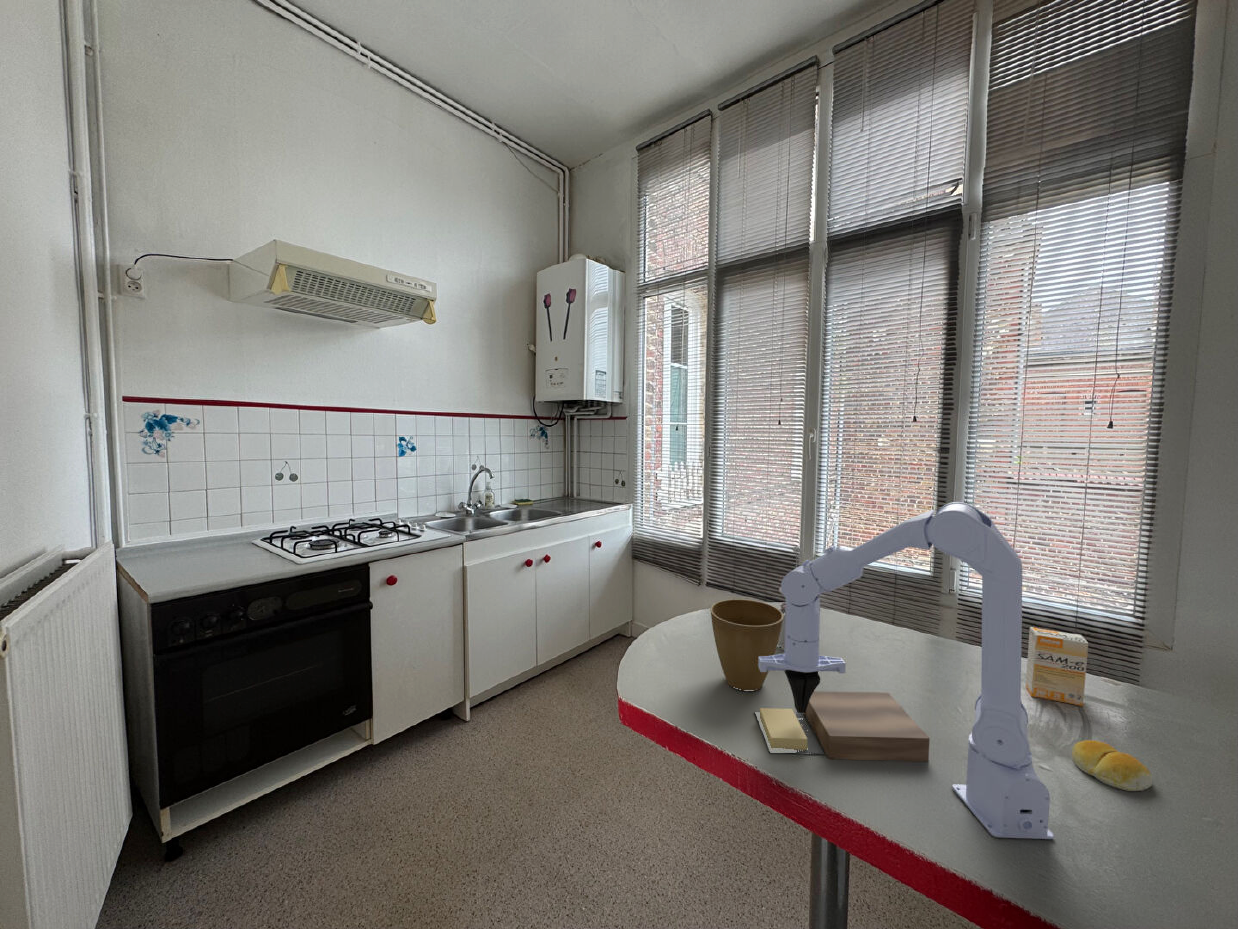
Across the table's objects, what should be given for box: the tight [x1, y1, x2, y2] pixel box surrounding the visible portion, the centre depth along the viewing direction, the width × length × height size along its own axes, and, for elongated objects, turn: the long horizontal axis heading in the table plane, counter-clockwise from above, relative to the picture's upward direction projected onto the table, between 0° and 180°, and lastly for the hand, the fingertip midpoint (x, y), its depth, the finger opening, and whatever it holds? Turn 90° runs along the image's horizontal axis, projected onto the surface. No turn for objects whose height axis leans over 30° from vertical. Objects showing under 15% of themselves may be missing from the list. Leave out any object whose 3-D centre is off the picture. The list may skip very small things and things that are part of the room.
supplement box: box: [1025, 626, 1089, 707], centre depth 101 cm, size 8×5×13 cm, turn 62°
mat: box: [795, 711, 825, 755], centre depth 91 cm, size 12×9×1 cm
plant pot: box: [710, 598, 784, 690], centre depth 107 cm, size 15×15×16 cm
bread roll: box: [1071, 739, 1154, 792], centre depth 80 cm, size 8×9×4 cm
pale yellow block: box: [759, 707, 807, 750], centre depth 90 cm, size 9×6×2 cm, turn 177°
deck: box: [804, 690, 930, 762], centre depth 90 cm, size 14×16×4 cm
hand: (800, 709), depth 89 cm, fingers closed
